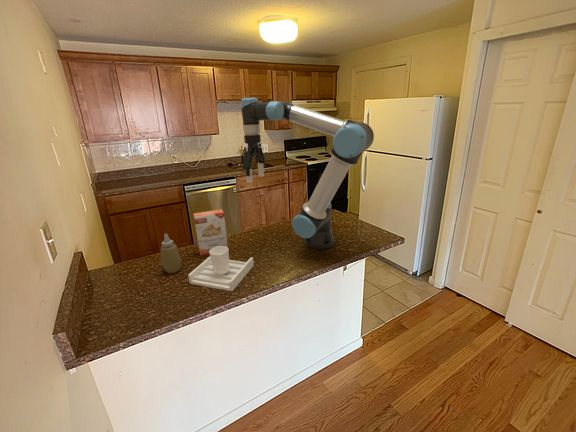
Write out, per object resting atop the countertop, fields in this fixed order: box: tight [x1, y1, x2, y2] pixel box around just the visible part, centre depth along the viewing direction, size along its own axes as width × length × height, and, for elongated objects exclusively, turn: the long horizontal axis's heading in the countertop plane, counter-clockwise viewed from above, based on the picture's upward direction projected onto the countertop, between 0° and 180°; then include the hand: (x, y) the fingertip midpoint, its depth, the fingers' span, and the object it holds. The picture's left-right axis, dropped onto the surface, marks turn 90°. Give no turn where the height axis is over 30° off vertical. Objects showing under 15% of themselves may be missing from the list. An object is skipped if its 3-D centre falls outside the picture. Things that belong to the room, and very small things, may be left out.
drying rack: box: [187, 256, 255, 292], centre depth 121 cm, size 20×20×4 cm
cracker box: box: [193, 208, 229, 256], centre depth 139 cm, size 14×6×21 cm, turn 111°
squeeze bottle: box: [160, 233, 182, 274], centre depth 123 cm, size 8×8×18 cm
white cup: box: [209, 246, 230, 275], centre depth 118 cm, size 8×8×10 cm
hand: (255, 179), depth 136 cm, fingers open, 13 cm apart
